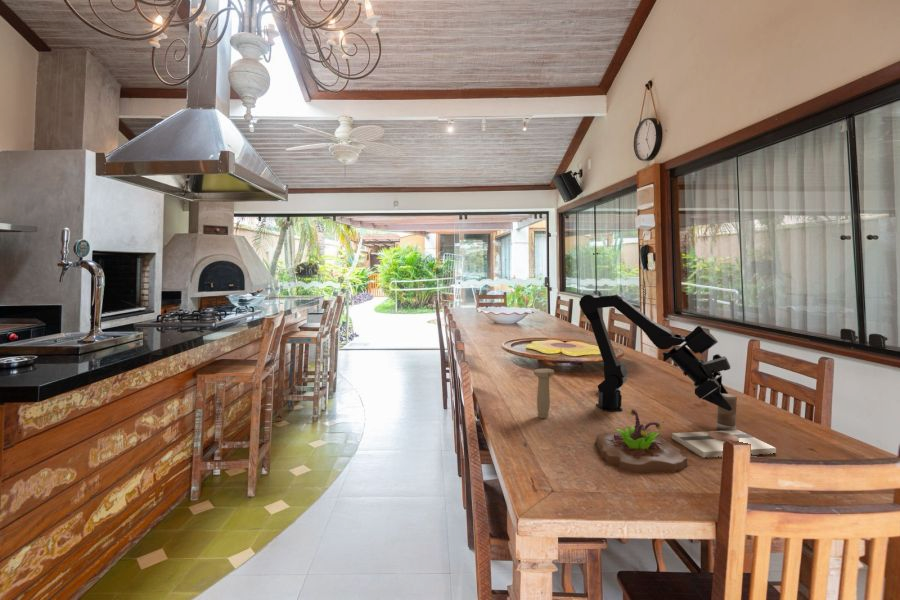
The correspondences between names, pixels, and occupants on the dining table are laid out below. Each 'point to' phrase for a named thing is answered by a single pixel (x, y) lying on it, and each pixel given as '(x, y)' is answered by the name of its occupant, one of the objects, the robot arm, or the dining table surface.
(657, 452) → the plant
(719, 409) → the grey-brown upright cylinder
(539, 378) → the handle
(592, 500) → the dining table surface
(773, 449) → the board
